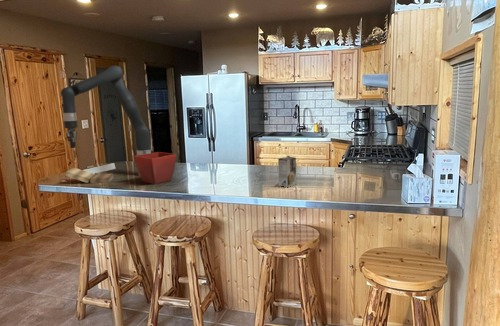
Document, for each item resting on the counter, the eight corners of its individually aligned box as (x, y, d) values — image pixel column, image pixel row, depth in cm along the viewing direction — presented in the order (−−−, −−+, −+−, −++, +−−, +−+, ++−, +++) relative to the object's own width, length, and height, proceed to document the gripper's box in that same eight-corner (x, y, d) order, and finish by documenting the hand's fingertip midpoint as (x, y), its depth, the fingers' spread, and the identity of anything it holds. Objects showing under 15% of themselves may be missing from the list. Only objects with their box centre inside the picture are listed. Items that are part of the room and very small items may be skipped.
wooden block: (113, 177, 243) (113, 173, 242) (108, 182, 229) (108, 177, 229) (96, 178, 241) (95, 174, 241) (90, 183, 228) (89, 178, 227)
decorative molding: (69, 181, 252) (79, 178, 247) (67, 174, 251) (77, 171, 247) (106, 171, 282) (115, 169, 278) (104, 165, 282) (114, 163, 278)
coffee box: (287, 183, 214) (286, 156, 211) (296, 184, 210) (296, 157, 207) (278, 186, 207) (277, 158, 205) (287, 187, 203) (287, 159, 200)
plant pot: (152, 186, 216) (150, 158, 213) (134, 182, 228) (132, 155, 225) (178, 180, 230) (177, 154, 227) (160, 177, 242) (158, 151, 239)
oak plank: (93, 178, 241) (95, 174, 241) (87, 183, 227) (89, 178, 227) (72, 171, 238) (73, 167, 238) (64, 175, 225) (66, 171, 224)
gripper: (73, 120, 220) (76, 148, 223) (80, 119, 234) (82, 146, 237) (59, 120, 219) (63, 149, 222) (67, 119, 233) (70, 146, 236)
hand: (73, 147), depth 229 cm, fingers closed
